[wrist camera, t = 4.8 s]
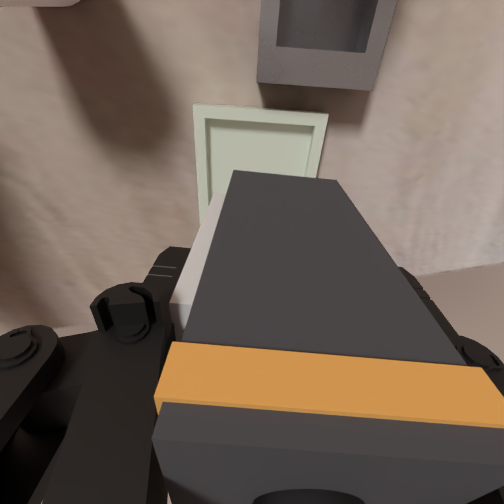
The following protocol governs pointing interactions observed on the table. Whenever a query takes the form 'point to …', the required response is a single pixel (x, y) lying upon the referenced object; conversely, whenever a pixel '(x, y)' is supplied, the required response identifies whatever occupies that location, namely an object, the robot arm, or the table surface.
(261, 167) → the tray
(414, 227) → the table surface
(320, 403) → the plug
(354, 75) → the strip
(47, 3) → the cup
